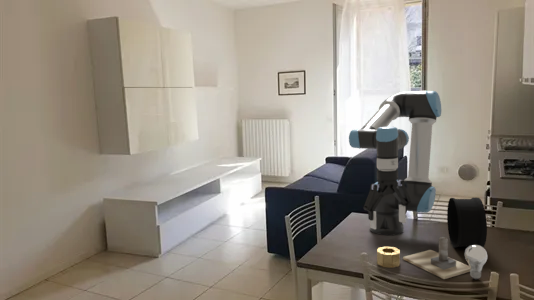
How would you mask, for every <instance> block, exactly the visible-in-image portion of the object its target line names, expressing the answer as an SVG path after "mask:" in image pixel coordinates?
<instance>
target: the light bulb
mask: <svg viewBox="0 0 534 300" xmlns="http://www.w3.org/2000/svg"><path fill="white" fill-rule="evenodd" d="M464 259H465V261H466V262H467V264H468V266H469V268H470V272H469V275H470V277H471V278H472V279H473V280H478V279H480V278H481V277H482V271H483V267H484V265H485V264H486V262H487V260H488V252H487V250H486V249H485V247H482V246H480V245H470V246H469V247H466V248H465V250H464Z"/></svg>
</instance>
